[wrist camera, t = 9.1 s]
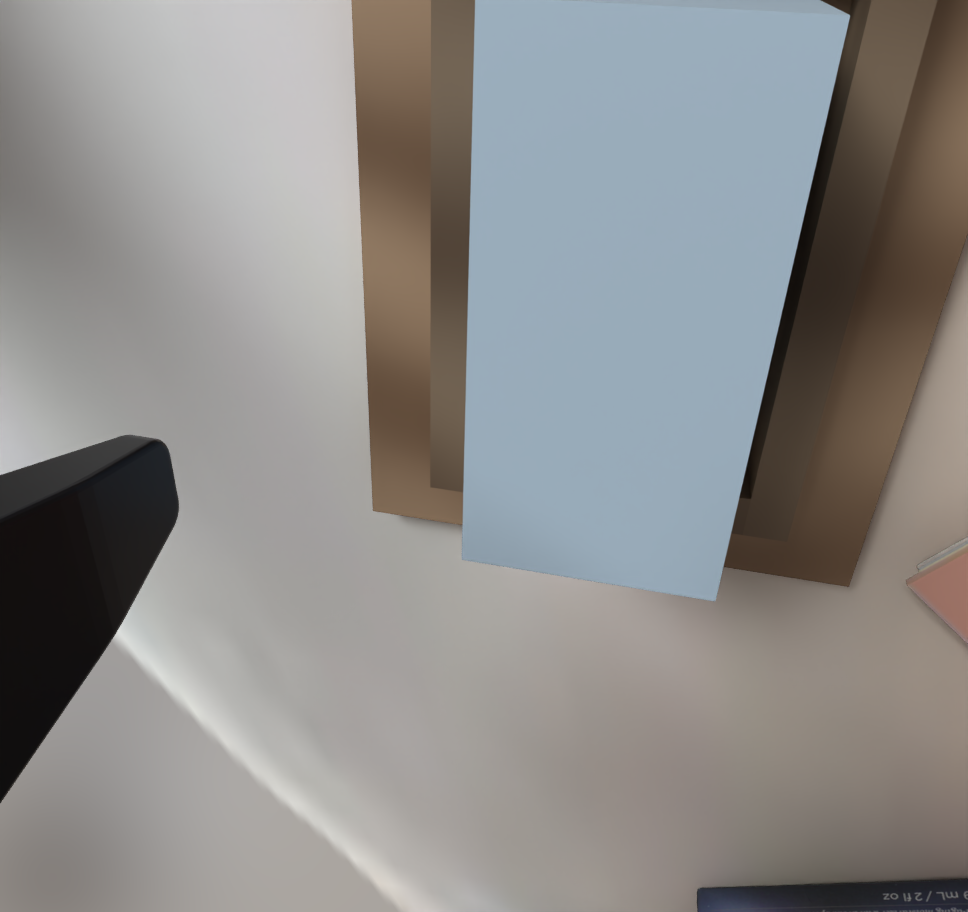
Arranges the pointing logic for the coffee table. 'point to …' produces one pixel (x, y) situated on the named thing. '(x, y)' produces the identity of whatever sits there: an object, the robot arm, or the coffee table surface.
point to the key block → (630, 272)
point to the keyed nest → (808, 303)
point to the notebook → (946, 586)
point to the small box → (840, 897)
